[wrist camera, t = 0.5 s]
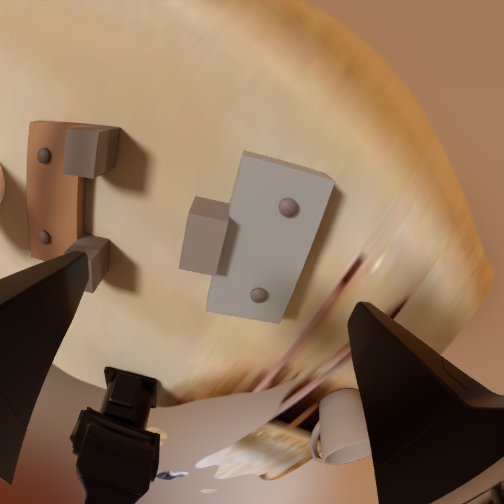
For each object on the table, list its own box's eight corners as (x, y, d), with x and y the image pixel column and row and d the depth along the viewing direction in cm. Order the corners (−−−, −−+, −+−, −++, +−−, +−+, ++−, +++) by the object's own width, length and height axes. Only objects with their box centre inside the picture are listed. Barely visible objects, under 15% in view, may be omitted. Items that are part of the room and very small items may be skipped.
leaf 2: (324, 172, 20) (340, 185, 17) (276, 304, 25) (281, 331, 22) (207, 142, 18) (202, 148, 15) (179, 286, 24) (172, 313, 21)
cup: (376, 390, 33) (395, 441, 26) (324, 424, 37) (334, 472, 29) (343, 376, 31) (361, 436, 23) (287, 415, 34) (294, 469, 27)
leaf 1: (120, 127, 17) (99, 132, 14) (108, 269, 23) (92, 293, 20) (38, 120, 16) (11, 126, 13) (37, 250, 22) (18, 269, 18)
